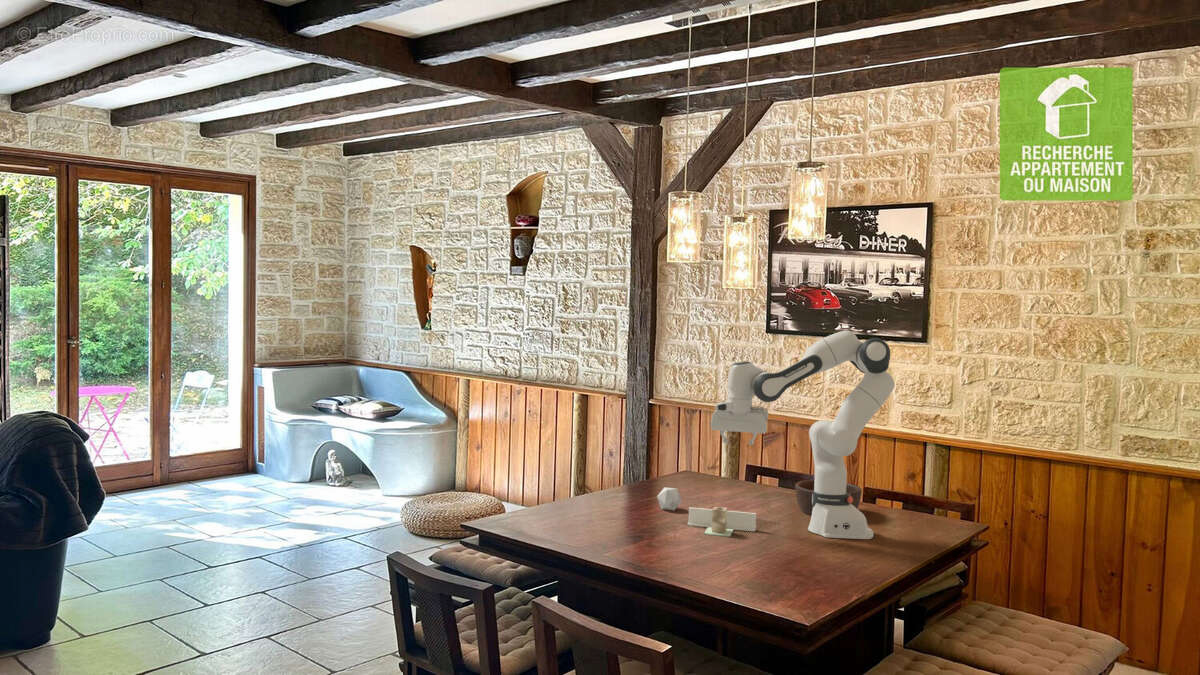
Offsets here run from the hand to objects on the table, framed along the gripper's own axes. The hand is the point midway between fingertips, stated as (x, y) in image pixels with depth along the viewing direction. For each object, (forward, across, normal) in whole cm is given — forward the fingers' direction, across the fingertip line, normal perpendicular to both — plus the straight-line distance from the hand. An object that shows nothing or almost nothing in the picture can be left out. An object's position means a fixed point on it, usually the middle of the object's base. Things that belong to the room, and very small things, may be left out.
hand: (738, 443), depth 329 cm
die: (+29, +27, -12) cm, 42 cm away
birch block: (+29, +4, +16) cm, 33 cm away
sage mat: (+29, +4, +15) cm, 33 cm away
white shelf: (+29, +4, +8) cm, 30 cm away
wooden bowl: (+29, -32, -30) cm, 53 cm away
